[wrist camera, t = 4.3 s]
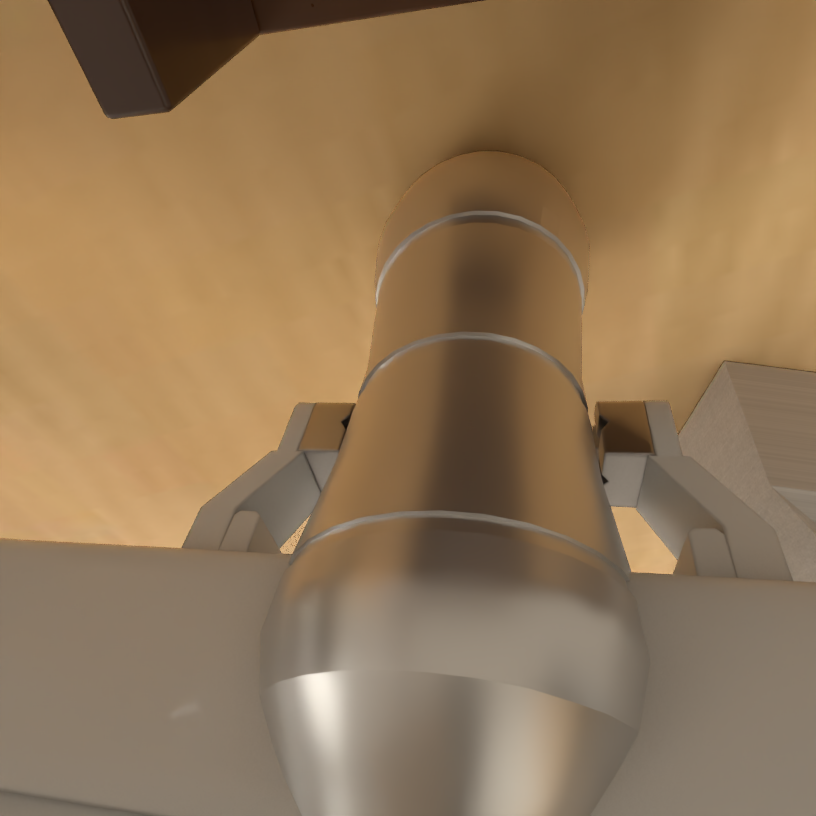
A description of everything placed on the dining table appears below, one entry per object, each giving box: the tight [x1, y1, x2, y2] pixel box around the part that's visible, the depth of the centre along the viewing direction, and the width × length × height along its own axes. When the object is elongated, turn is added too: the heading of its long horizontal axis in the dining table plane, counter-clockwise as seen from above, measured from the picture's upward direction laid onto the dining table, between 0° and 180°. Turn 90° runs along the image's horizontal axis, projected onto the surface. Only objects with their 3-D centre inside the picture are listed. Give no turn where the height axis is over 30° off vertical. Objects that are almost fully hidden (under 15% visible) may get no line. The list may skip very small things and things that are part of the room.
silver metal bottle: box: [259, 151, 650, 816], centre depth 12 cm, size 6×7×20 cm
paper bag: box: [678, 361, 816, 582], centre depth 21 cm, size 4×7×10 cm, turn 177°
